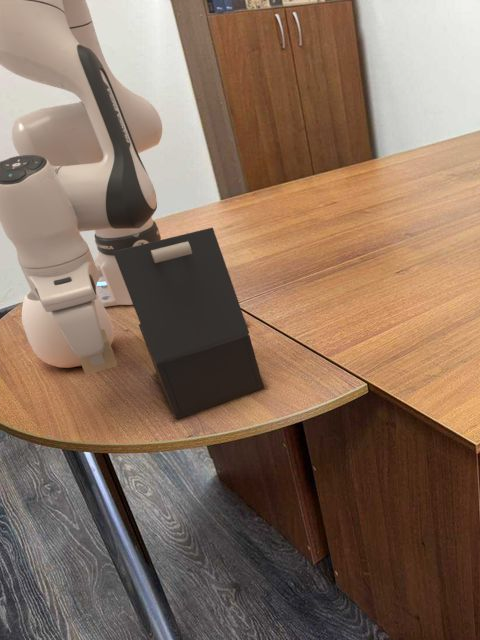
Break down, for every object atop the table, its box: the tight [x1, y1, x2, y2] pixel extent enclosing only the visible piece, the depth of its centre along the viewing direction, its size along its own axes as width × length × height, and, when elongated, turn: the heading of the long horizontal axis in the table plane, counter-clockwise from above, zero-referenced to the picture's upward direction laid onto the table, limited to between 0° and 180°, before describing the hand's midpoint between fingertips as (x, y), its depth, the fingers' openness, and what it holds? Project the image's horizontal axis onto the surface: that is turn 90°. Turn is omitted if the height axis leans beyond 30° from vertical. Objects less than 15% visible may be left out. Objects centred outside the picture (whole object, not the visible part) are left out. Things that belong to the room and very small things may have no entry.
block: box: [78, 329, 118, 376], centre depth 101 cm, size 4×4×4 cm
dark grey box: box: [138, 323, 265, 420], centre depth 106 cm, size 16×14×10 cm
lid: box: [113, 227, 250, 363], centre depth 94 cm, size 17×14×5 cm
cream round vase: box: [21, 290, 115, 369], centre depth 115 cm, size 13×13×14 cm
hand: (96, 354), depth 101 cm, fingers closed on block, 4 cm apart
